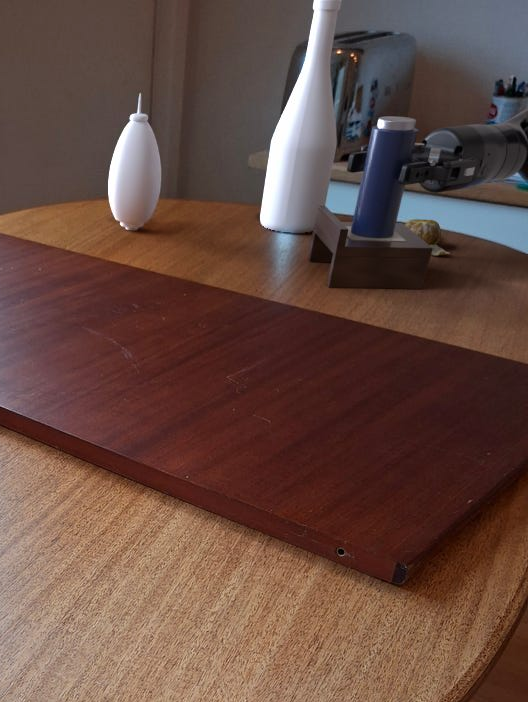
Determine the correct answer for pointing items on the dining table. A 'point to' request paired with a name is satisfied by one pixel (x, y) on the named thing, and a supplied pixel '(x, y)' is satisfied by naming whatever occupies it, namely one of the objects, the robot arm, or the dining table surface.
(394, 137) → the navy blue cylinder
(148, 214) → the air blower bulb
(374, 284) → the shoe shelf
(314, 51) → the wine bottle
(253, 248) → the dining table surface
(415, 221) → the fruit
